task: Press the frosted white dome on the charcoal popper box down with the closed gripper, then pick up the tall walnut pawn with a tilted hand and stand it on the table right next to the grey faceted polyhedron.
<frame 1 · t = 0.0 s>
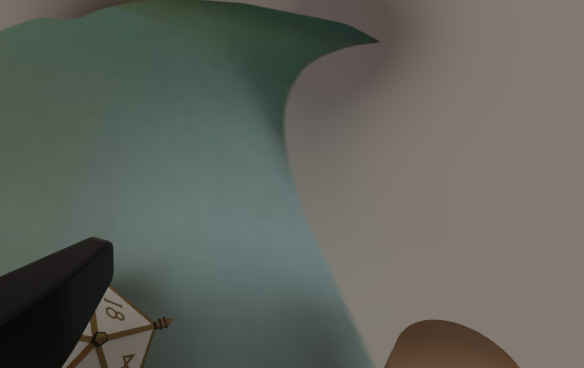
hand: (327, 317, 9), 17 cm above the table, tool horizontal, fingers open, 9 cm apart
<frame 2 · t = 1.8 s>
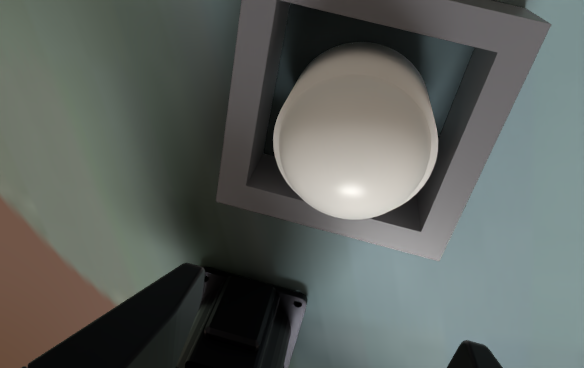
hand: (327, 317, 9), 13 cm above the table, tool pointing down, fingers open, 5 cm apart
dome: (354, 140, 16), point 4 cm above the table, slide at 0.0 cm
popper box: (360, 99, 20), on the table
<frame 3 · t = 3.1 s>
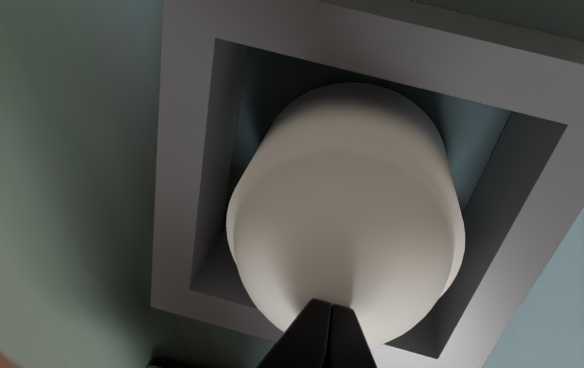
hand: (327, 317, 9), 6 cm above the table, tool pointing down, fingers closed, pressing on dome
dome: (342, 228, 11), point 3 cm above the table, slide at 1.0 cm, touching gripper
popper box: (351, 165, 14), on the table
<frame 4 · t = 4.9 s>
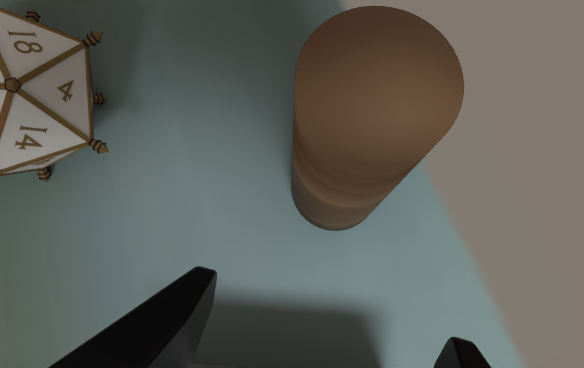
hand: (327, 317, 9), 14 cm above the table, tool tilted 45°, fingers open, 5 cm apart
walnut pawn: (334, 188, 24), on the table
grey faceted polyhedron: (56, 127, 25), on the table
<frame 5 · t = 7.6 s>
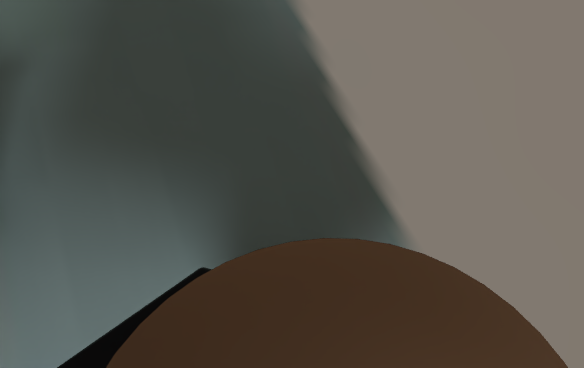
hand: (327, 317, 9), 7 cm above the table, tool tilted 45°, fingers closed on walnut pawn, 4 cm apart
walnut pawn: (299, 353, 15), on the table, touching gripper
when the fingers open (8 cm above the table, at t = 11.5 s): walnut pawn drops 1 cm, on the table.
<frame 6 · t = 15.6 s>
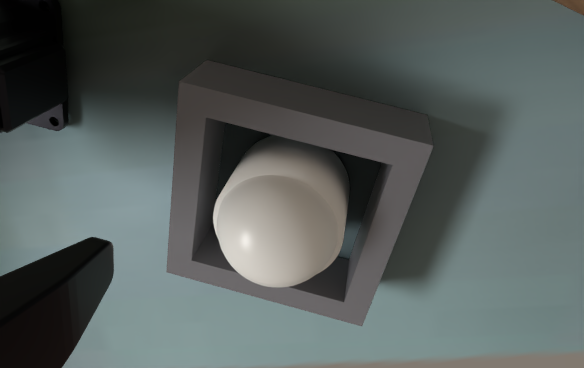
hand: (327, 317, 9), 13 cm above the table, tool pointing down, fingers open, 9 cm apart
dome: (280, 220, 20), point 3 cm above the table, slide at 1.1 cm
popper box: (293, 182, 23), on the table
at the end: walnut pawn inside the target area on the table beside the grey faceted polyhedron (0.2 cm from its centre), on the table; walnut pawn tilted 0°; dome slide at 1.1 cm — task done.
